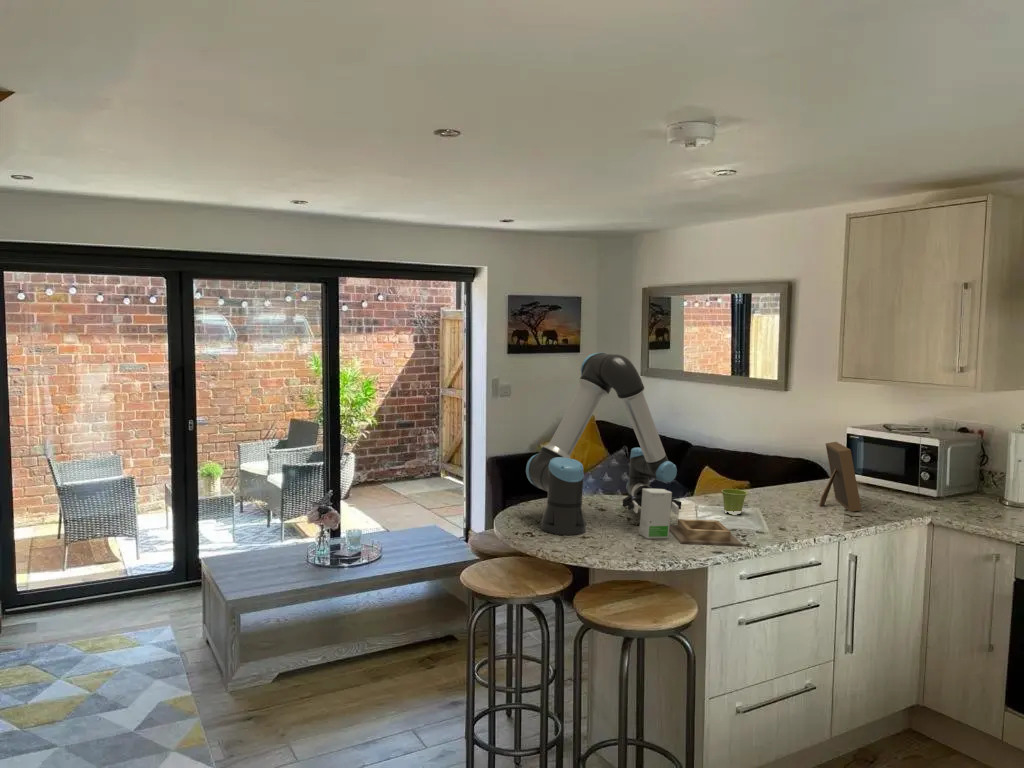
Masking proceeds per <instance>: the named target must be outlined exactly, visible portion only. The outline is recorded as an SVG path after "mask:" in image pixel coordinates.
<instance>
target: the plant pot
mask: <svg viewBox="0 0 1024 768" xmlns="http://www.w3.org/2000/svg"><path fill="white" fill-rule="evenodd" d="M721 494H722V497H723V511H724V510H726V511H733V512H734V511H743V507H744V502H745V499H746V496H747V495H748V492H747V491H745V490H742V489H736V488H735V489H734V488H723V489H721Z"/></svg>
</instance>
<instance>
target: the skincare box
mask: <svg viewBox="0 0 1024 768" xmlns="http://www.w3.org/2000/svg"><path fill="white" fill-rule="evenodd" d="M672 496H673V492H672V491H669V490H667V489H665V488H652V489H646V488H643V489H642V504H641V507H640V519H639V520H640V521H639V529H638V530H639V535H640V536H642V537H643V538H645V539H648V540H649V539H669V538H670V531H669V526H670V525H671V524H670V523H671V511H672V510H671V499H673V498H672Z"/></svg>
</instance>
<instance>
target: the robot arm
mask: <svg viewBox="0 0 1024 768" xmlns="http://www.w3.org/2000/svg"><path fill="white" fill-rule="evenodd" d="M580 372H581V373H580V375H581V376H580V378H579V379H578V383H579V385H580V386H579V389H578V390H577V392H576V394H575V395H574V398H573V400H572V401H571V403H570V405H569V406H568V408H567V411H566V412H565V414H564V415H563V418H562V420H561V421H560V423H559V425H558V426H557V429H556V430H555V433H554V434H553V436H552V437H551V439H550V441H549V443H548V444H545V445H543V446H541V448H540V450H539V452H538V453H536V454H534V455H532V456H531V457H530V458H529V459H528V460H527V463H526V467H525V474H526V478H527V479H528V481H529V482H530V484H532V485H533V486H534V487H535V488H538V489H539V490H542V491H545V492H547V503H546V507H545V509H544V513H543V515H542V518H541V520H540V529H541V530H542V531H544V532H547V533H550V534H554V535H562V536H571V535H572V536H573V535H574V536H575V535H580V534H583V533H585V532H586V529H587V523H586V520H585V516H584V512H583V508H582V505H583V487H584V477H585V474H584V473H585V472H584V465H583V463H582V462H581V461H579V460H577V459H574V458H571V455H572V454H573V453H572V452H573V451H574V449H575V447H576V446H577V444H578V441H579V440H580V439H581V436H582V434H583V433H584V431H585V429H586V427H587V425H588V423H589V422H590V420H591V418H592V416H593V414H594V412H595V411H596V409H597V407H598V406H599V403H600V401H602V399H603V398H605V397H608V395H609V394H610V392H611V390H612V389H613V390H614V391H615V393H616V395H617V398H618V399H620V400H622V403H623V405H624V408H625V411H626V413H627V416H628V418H629V421H630V423H631V427H632V428H633V431H634V433H635V436H636V439H637V441H638V444H639V446H640V447H633V448H631V450H630V457H629V474H628V475H629V476H628V482H626V485H625V486H626V491H627V496H626V497H624V498H623V499H622V508H627V510H628V511H629V510H630V511H634V513H635V514H638V513H639V507H640V508H641V504H642V489H643V488H646V489H653V488H652V487H651V486H650V478H651V479H654V480H656V481H659V482H662V483H663V482H664V483H670V482H672V481H674V479H675V478H676V477H677V475H678V473H677V472H678V469H677V465H676V464H674V463H673V462H672V461H670V460H669V459H668V456H667V454H666V452H665V447H664V446H663V443H662V440H661V437H660V435H659V432H658V430H657V427H656V424H655V422H654V418H653V416H652V413H651V411H650V407H649V405H648V403H647V400H646V398H645V395H644V390H645V386H644V383H643V381H642V378H641V376H640V373H639V372H638V370H637V368H636V367H635V365H634V364H633V362H632V361H631V360H630V359H629V358H627V357H626V356H624V355H621V354H616V353H615V354H612V353H606V352H596V353H591V354H590V355H588V356H586V357H585V359H584V360H583V361H582V364H581V365H580ZM680 510H682V501H678V500H677V499H674V498H672V499H671V511H672V513H674V514H675V515H677V516H679V511H680Z"/></svg>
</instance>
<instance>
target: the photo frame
mask: <svg viewBox="0 0 1024 768" xmlns="http://www.w3.org/2000/svg"><path fill="white" fill-rule="evenodd" d="M825 449H826V454H827V460H828V465H829V471H830V478H829V480H828V482H827V484H826V486H825V488H824V490H823V493H822V495H821V497H820V502H819V505H818V506H819V507H823V506H825V503H826V501H827V498H828V496H829V493H830V490H831V488H832V487H833V492H834V498H835V500H836V502H838V503H839V504H840V505H841V506H843V507H844V508H845V509H846V510H847V511H849V512H850V513H851V512H858V511H862V505H861V499H860V494H859V490H858V483H857V477H856V472H855V467H854V461H853V456H852V450H851V449H850V448H848V447H846V446H845V445H843V444H841V443H839V442H838V441H833V442H827V443H826V442H825Z"/></svg>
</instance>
